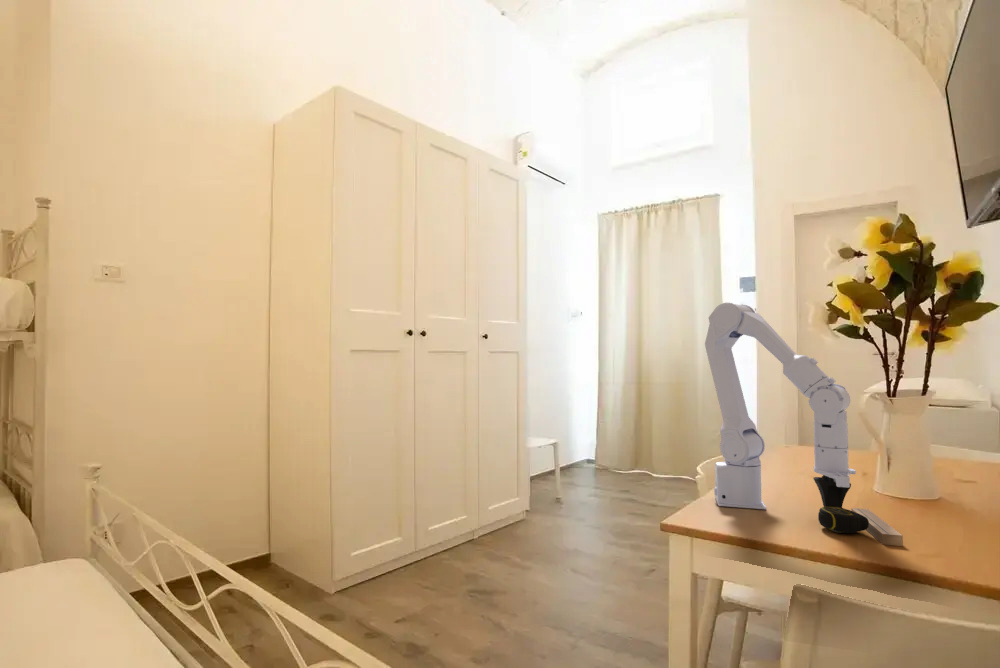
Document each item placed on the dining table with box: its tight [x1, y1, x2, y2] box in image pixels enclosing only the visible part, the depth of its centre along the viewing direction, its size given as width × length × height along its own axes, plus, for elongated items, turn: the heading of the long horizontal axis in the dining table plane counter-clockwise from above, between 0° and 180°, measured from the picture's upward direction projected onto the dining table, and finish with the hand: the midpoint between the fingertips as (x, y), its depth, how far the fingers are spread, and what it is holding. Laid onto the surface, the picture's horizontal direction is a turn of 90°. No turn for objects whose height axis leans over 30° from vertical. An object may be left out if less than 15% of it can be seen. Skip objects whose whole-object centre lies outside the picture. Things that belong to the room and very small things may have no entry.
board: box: [850, 507, 904, 547], centre depth 100 cm, size 3×16×2 cm, turn 163°
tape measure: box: [817, 506, 869, 534], centre depth 100 cm, size 7×7×4 cm
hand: (832, 515), depth 105 cm, fingers closed
